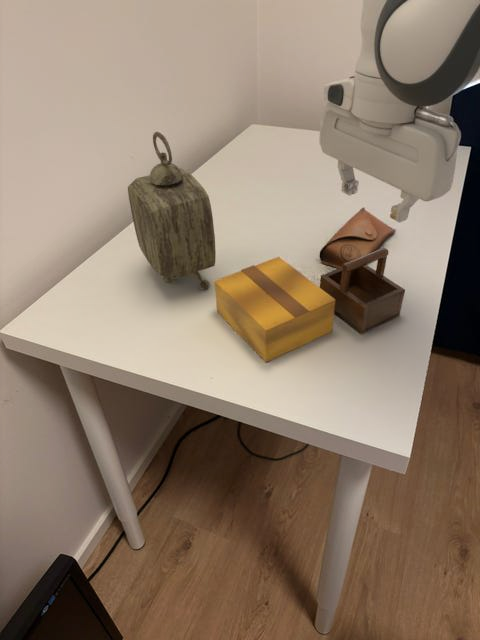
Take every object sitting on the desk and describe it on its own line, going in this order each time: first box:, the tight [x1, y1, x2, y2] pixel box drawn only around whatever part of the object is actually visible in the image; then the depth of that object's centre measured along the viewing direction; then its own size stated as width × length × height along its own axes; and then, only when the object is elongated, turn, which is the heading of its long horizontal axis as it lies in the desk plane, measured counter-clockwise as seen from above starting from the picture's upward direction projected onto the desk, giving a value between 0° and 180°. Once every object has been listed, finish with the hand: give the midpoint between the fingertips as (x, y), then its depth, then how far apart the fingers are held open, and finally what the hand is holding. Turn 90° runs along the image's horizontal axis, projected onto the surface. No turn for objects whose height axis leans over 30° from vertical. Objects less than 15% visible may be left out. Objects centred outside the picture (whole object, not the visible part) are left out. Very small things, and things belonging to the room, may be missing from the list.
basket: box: [319, 247, 406, 335], centre depth 74 cm, size 10×8×10 cm
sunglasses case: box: [318, 207, 397, 269], centre depth 90 cm, size 18×7×7 cm, turn 147°
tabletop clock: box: [127, 131, 216, 290], centre depth 77 cm, size 14×9×25 cm, turn 27°
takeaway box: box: [214, 256, 335, 363], centre depth 73 cm, size 14×12×6 cm
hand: (372, 205), depth 66 cm, fingers open, 8 cm apart
